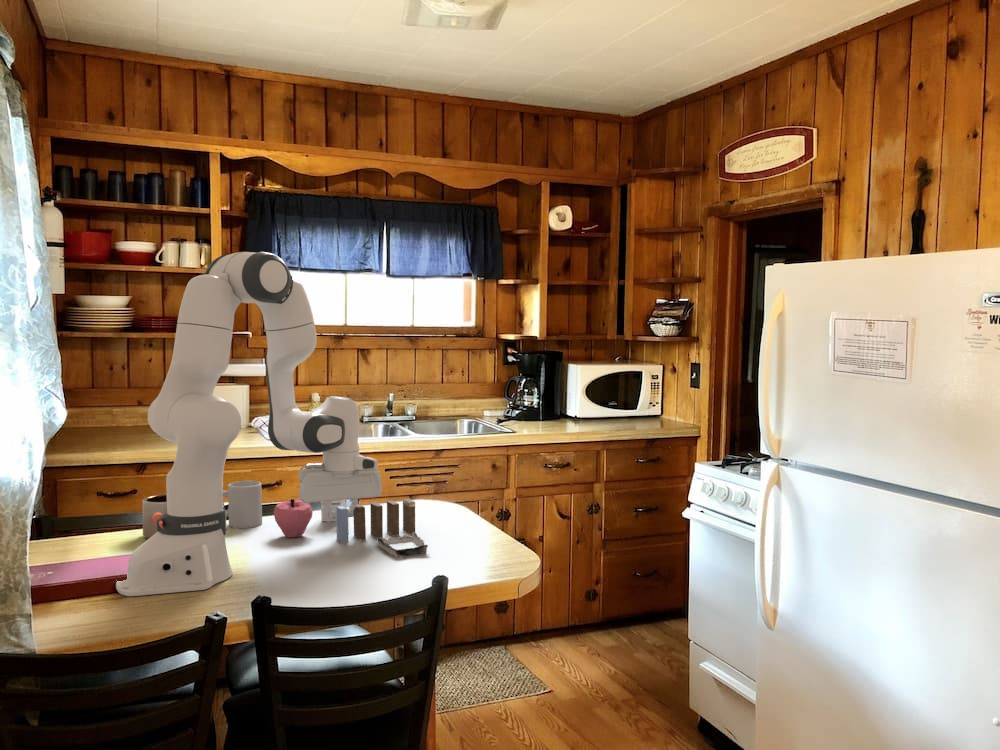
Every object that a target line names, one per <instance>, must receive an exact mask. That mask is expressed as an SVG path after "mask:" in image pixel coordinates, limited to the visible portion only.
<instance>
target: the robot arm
mask: <svg viewBox="0 0 1000 750" xmlns="http://www.w3.org/2000/svg"><path fill="white" fill-rule="evenodd" d="M241 303H243V304H256V305H257V307H258V309H260V311H261V315H262V316H263V317H262V319H263V325H264V331H265V335H266V336H265V337H266V341H267V343H266V344H267V353H266V356H265V364H264V365H265V376H266V377H265V378H266V385H267V394H268V405H269V406H268V407H269V418H268V423H267V425H268V426H267V432H268V433H267V434H268V437H269V440H270V442H271V443H272V445H273V446H274V447H275V448H277V449H279V450H281V451H297V452H302V453H311V454H319V453H322V462H319V463H317V462H316V463H307V464H305V465H303V466H302V467H300V468H299V471H298V480H299V482H300V483H299V487H298V488H299V489H298V499H299V501H302V502H304V503H308V504H313V503H321V502H324V506H325V507H326V509H327V511H328V518H329V519H335V518H336V516H335V515H336V511H334V510H331V508H330V506H329V505H332V501H337V500H346V501H347V500H349V502H351V503H350V505H349V507H348V508H347V509H348V518H354V517H353V510H354V509H355V507H356V506H357V504H359V499H367V498H368V499H369V498H379V497H380V496H381V495H382V492H383V486H382V476H381V473H380V471H379V470H378V467H379V461H378V459H376V458H373V457H370V456H367V455H364V454H360V446H359V435H360V412H359V411H360V410H359V406H358V404H357V402H356V401H355V400H354V399H352V398H350V397H349V398H348V397H345V396H342V397H341V396H333V395H331V396H330V395H329V396H327V397H326V398H325V399H324V401H323V402H322V403H321V404H320V405H319V406H317V407H316V408H313V409H311V410H310V411H306V410H301V409H300V408H299V407H298V405H297V404H296V393H295V387H294V385H295V384H294V383H295V382H294V372H295V369H296V368H297V367H298V366H299V365H300V364H302V363H303V362H305V361H306V360H307V359H308V358H310V357H311V355H312V354H313V353H314V351H315V350H316V347H317V339H318V338H317V330H316V324H315V319H314V315H313V311H312V308H311V305H310V300H309V298H308V296H307V293H306V289H305V288H304V285H303V284H302V283H301V281H299V280H298V279H297V278H294V277H293V275H291V272H290V269H289V267H288V264H287V263H286V262H285V261H284V260H283V259H282V258H281V257H280V256H279V255H276V254H274V253H272V252H268V251H267V252H265V251H258V252H253V251H251V252H250V251H238V252H234V253H229V254H228V253H227V254H223V255H220V256H218V257H216V258H215V259H214V260H212V261H211V262H210V263H209V265H208V266H207V268H206V270H205V272H204V274H200V275H197V276H194V277H192V278H191V279H190V280H188V282H187V285H186V287H185V290H184V292H183V296H182V298H181V302H180V306H179V311H178V316H177V321H176V322H177V324H176V329H175V331H176V332H175V336H174V337H175V338H174V344H173V351H172V358H171V361H170V365H169V368H168V372H167V374H166V377H165V380H164V382H163V384H162V387H161V389H160V392H159V393H158V396H156V397H155V399H154V400H153V401H152V402H151V404H150V405H149V408H148V411H147V421H148V422H147V423H148V424H149V427H150V428H151V430H152V431H153V432H154V433H155V434H156V435H158V436H159V437H160V438H162V439H164V440H166V441H168V442H170V443H175V444H177V445H176V447H177V448H176V454H175V458H174V462H173V465H172V467H171V469H170V470H169V471H168V472H167V475H166V478H165V480H166V482H165V483H166V485H165V486H166V489H165V490H166V494H167V512H166V513H164V514H163V515H162V514H161V513H155V514H154V515H153V517H152V518H153V521H154V522H155V523H157V531H158V532H156V533H155V534H154V535H153V536H152V537H150V538H149V539H147V540H146V541H144V542H143V543H142V544H141V545H139V546H138V547H136V548H135V549H134V550H133V552H132V553H131V555H130V558H129V559H128V565H127V571H126V573H127V579H126V580H123V581H117V580H116V581H117V582H116V581H115V589H116V591H117V592H118V593H119V594H120V595H123V596H126V597H138V596H148V595H159V594H169V593H171V594H173V593H182V592H193V591H203V590H209V588H211V587H212V586H214V585H216V584H218V583H221V582H223V581H225V580H228V579H229V578H230V577H231V576H232V575H233V573H234V572H233V570H232V566H231V564H230V563H231V562H230V559H229V556H228V549H227V544H226V531H227V517H226V513H225V511H226V509H225V508H224V497H223V491H224V472H225V463H226V460H227V457H228V453H229V449H230V447H231V444H232V443H233V442H234V441H235V439H236V438H237V437H238V435H239V434H240V431H241V427H242V417H241V413H240V411H239V409H238V408H237V407H236V406H235V405H234V404H233V403H231V402H230V401H228V400H226V399H225V398H222V397H220V396H218V395H213V393H214V391H215V388H216V386H217V383H218V382H219V379H220V378H221V376H222V375H223V374H225V372H226V371H227V369H228V367H229V364H230V356H231V355H230V354H231V349H232V339H233V330H234V322H235V314H236V311H237V309H238V307H239V306H240V304H241Z"/></svg>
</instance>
